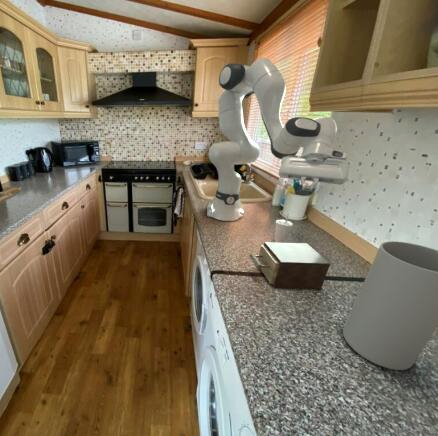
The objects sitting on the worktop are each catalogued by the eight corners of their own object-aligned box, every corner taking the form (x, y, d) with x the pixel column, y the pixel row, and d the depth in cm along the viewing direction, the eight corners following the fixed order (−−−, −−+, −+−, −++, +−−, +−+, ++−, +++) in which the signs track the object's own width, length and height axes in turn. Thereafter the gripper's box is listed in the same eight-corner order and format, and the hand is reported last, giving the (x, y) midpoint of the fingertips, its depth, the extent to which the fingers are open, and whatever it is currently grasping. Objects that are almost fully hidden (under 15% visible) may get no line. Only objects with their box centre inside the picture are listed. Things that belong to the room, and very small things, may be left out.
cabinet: (274, 287, 77) (281, 262, 73) (259, 265, 89) (264, 242, 85) (321, 289, 77) (330, 263, 73) (299, 266, 88) (306, 243, 84)
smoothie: (289, 247, 101) (298, 216, 95) (273, 245, 102) (280, 215, 97) (284, 240, 107) (292, 210, 101) (269, 238, 108) (276, 209, 102)
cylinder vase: (329, 327, 63) (364, 242, 53) (373, 324, 64) (415, 240, 54) (375, 374, 51) (431, 277, 41) (427, 369, 52) (494, 274, 43)
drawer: (256, 283, 77) (261, 262, 74) (244, 263, 88) (248, 244, 85) (313, 285, 77) (320, 264, 74) (294, 265, 87) (300, 246, 84)
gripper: (283, 149, 90) (274, 180, 86) (353, 154, 79) (345, 189, 76) (282, 159, 95) (273, 189, 91) (347, 165, 85) (340, 199, 81)
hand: (306, 189), depth 84 cm, fingers closed
